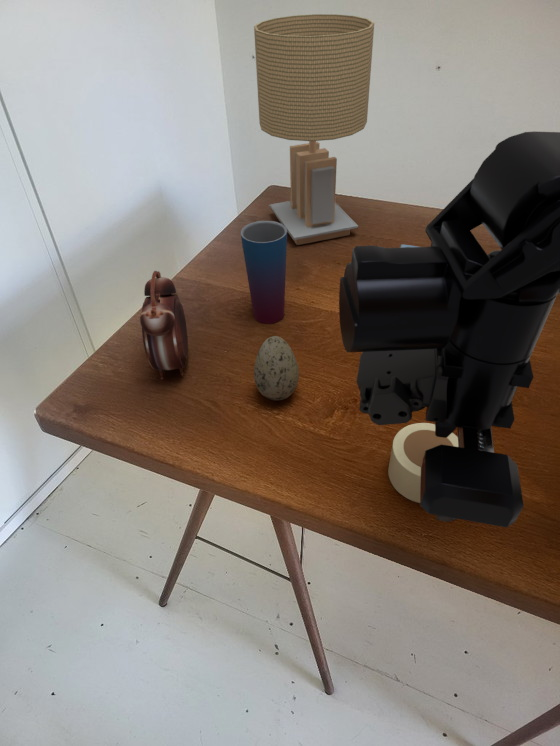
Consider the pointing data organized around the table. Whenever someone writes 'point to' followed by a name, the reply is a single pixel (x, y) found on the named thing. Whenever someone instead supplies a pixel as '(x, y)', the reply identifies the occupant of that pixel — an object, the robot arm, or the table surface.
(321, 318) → the table surface
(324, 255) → the table surface
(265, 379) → the decorative egg
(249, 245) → the cup
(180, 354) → the alarm clock
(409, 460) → the tape
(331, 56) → the desk lamp
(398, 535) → the table surface
